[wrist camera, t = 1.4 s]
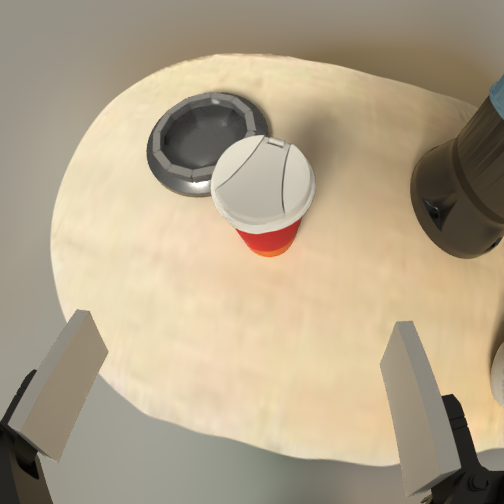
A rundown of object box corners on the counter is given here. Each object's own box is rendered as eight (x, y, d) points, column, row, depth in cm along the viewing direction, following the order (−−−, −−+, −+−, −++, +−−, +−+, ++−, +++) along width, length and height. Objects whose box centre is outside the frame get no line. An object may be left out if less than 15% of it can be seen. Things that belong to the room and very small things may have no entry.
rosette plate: (284, 111, 38) (284, 98, 35) (239, 214, 35) (236, 205, 32) (183, 90, 41) (178, 79, 38) (130, 179, 38) (121, 169, 35)
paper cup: (251, 192, 36) (234, 118, 22) (313, 215, 34) (330, 148, 21) (223, 252, 34) (187, 205, 21) (288, 278, 33) (293, 245, 19)
